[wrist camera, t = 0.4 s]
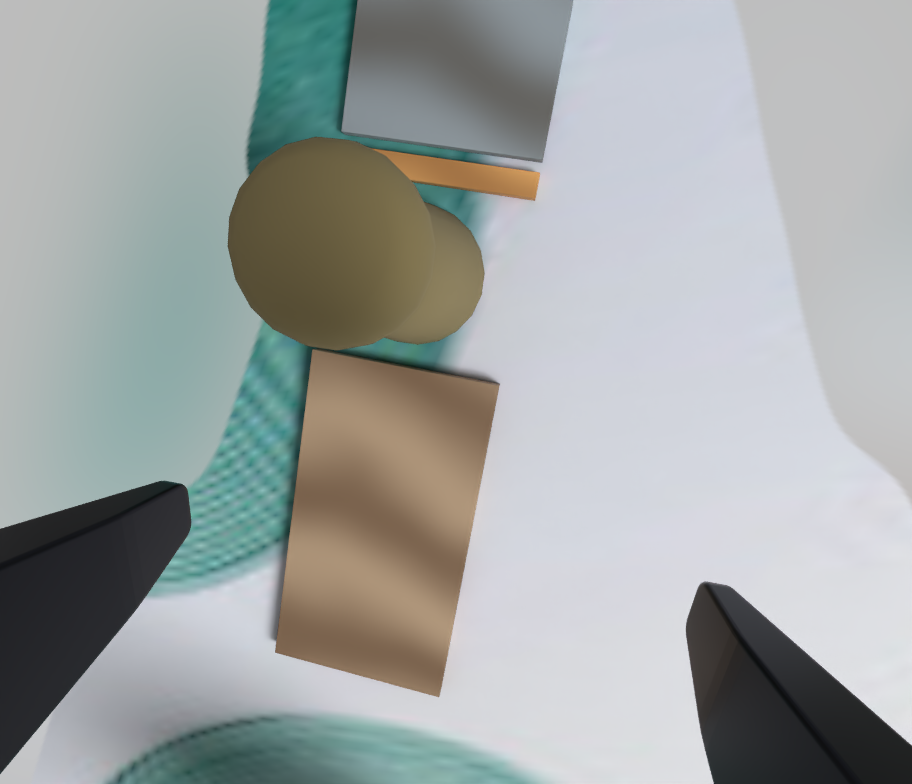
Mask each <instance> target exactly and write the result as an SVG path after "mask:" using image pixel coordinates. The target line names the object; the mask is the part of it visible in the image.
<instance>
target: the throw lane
mask: <svg viewBox="0 0 912 784" xmlns="http://www.w3.org/2000/svg"><path fill="white" fill-rule="evenodd" d="M572 5H573V0H358V1H357V10H356V18H355V26H354V34H353V42H352V50H351V58H350V66H349V74H348V82H347V90H346V98H345V106H344V114H343V122H342V132H343V133H344V134H345V135H351V136H358V137H365V138H372V139H379V140H386V141H393V142H400V143H408V144H415V145H422V146H429V147H436V148H443V149H450V150H457V151H464V152H471V153H478V154H485V155H492V156H499V157H506V158H513V159H521V160H528V161H535V162H542V161H543V156H544V151H545V146H546V141H547V135H548V130H549V125H550V120H551V115H552V109H553V104H554V99H555V94H556V89H557V83H558V78H559V73H560V68H561V63H562V57H563V52H564V47H565V42H566V37H567V31H568V26H569V21H570V16H571V11H572ZM370 149H372V148H370ZM373 150H375V151H377V152H379V153H381V154H383V155H385V156H387V157H388V158H389V159H390V160H391V161H392V162H393V163H394V164H395V165H396V166H397V167H398V168H399V169H400V170H401V171H402V172H403V173H404V174H405V175H406V176H407V177H408V178H409V179H410V180H411V181H412V182H415V183H421V184H428V185H434V186H441V187H448V188H454V189H461V190H468V191H474V192H481V193H488V194H494V195H501V196H507V197H514V198H521V199H527V200H534V201H535V198H536V193H537V187H538V182H539V177H540V173H538V172H531V171H525V170H518V169H511V168H504V167H497V166H490V165H483V164H476V163H469V162H462V161H455V160H448V159H441V158H434V157H427V156H420V155H413V154H406V153H400V152H393V151H386V150H379V149H373ZM499 385H500V384H497V383H492V382H487V381H482V380H477V379H472V378H467V377H461V376H456V375H451V374H446V373H441V372H436V371H431V370H426V369H420V368H415V367H410V366H405V365H400V364H395V363H390V362H385V361H379V360H374V359H369V358H364V357H359V356H354V355H349V354H344V353H338V352H333V351H328V350H323V349H313V350H312V358H311V366H310V374H309V382H308V390H307V398H306V406H305V415H304V423H303V431H302V439H301V447H300V455H299V463H298V471H297V479H296V488H295V496H294V504H293V512H292V520H291V528H290V536H289V544H288V552H287V561H286V569H285V577H284V585H283V593H282V601H281V609H280V617H279V625H278V634H277V642H276V650H275V653H279V654H283V655H286V656H290V657H294V658H297V659H301V660H305V661H308V662H312V663H316V664H319V665H323V666H327V667H330V668H334V669H338V670H341V671H345V672H349V673H352V674H356V675H360V676H363V677H367V678H371V679H374V680H378V681H382V682H385V683H389V684H393V685H396V686H400V687H404V688H407V689H411V690H415V691H418V692H422V693H426V694H429V695H433V696H437V697H439V695H440V691H441V687H442V681H443V676H444V671H445V666H446V661H447V655H448V650H449V645H450V640H451V635H452V629H453V624H454V619H455V614H456V609H457V603H458V598H459V593H460V588H461V583H462V577H463V572H464V567H465V562H466V557H467V551H468V546H469V541H470V536H471V531H472V525H473V520H474V515H475V510H476V505H477V499H478V494H479V489H480V484H481V479H482V473H483V468H484V463H485V458H486V453H487V447H488V442H489V437H490V432H491V427H492V421H493V416H494V411H495V406H496V401H497V395H498V390H499Z"/></svg>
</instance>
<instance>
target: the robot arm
mask: <svg viewBox="0 0 912 784" xmlns="http://www.w3.org/2000/svg"><path fill="white" fill-rule="evenodd" d="M190 528H191V514H190V505H189V497H188V490H187V488H186V487H185V486H184V485H183V484H180V483H174V482H169V481H159V482H155V483H152V484H149V485H146V486H142V487H139V488H135V489H132V490H129V491H126V492H122V493H119V494H115V495H112V496H109V497H105V498H102V499H99V500H95V501H92V502H89V503H85V504H82V505H78V506H75V507H72V508H68V509H65V510H62V511H58V512H55V513H52V514H48V515H45V516H42V517H38V518H35V519H32V520H28V521H25V522H22V523H18V524H15V525H11V526H9V527H5V528H1V529H0V774H1V772H2V771H3V770H4V769H5V768H6V767H7V765H8V764H9V763H10V762H11V760H12V759H13V758H14V757H15V756H16V755H17V753H18V752H19V751H20V750H21V748H22V747H23V746H24V745H25V744H26V742H27V741H28V740H29V739H30V738H31V736H32V735H33V734H34V733H35V732H36V730H37V729H38V728H39V727H40V726H41V724H42V723H43V722H44V721H45V719H46V718H47V717H48V716H49V715H50V714H51V712H52V711H53V710H54V709H55V707H56V706H57V705H58V704H59V703H60V701H61V700H62V699H63V698H64V697H65V695H66V694H67V693H68V692H69V691H70V689H71V688H72V687H73V686H74V685H75V683H76V682H77V681H78V680H79V679H80V677H81V676H82V675H83V674H84V673H85V671H86V670H87V669H88V668H89V666H90V665H91V664H92V663H93V662H94V660H95V659H96V658H97V657H98V656H99V654H100V653H101V652H102V651H103V650H104V648H105V647H106V646H107V645H108V644H109V642H110V641H111V640H112V639H113V638H114V636H115V635H116V634H117V633H118V631H119V630H120V629H121V628H122V627H123V625H124V624H125V623H126V622H127V621H128V619H129V618H130V617H131V616H132V614H133V613H134V612H135V611H136V609H137V608H138V607H139V605H140V604H141V602H142V601H143V600H144V598H145V597H146V596H147V594H148V593H149V591H150V590H151V588H152V587H153V585H154V584H155V582H156V581H157V579H158V578H159V577H160V575H161V574H162V572H163V571H164V569H165V568H166V566H167V565H168V563H169V562H170V561H171V559H172V558H173V556H174V555H175V553H176V552H177V550H178V549H179V547H180V546H181V544H182V543H183V542H184V540H185V539H186V537H187V535H188V533H189V531H190ZM686 638H687V644H688V651H689V658H690V664H691V671H692V678H693V684H694V691H695V698H696V704H697V711H698V717H699V723H700V729H701V734H702V739H703V743H704V747H705V751H706V755H707V759H708V763H709V767H710V771H711V774H712V778H713V782H714V784H912V745H910V744H909V743H908V742H907V741H906V740H905V739H904V738H902V737H901V736H900V735H899V734H898V733H897V732H896V731H895V730H893V729H892V728H891V727H890V726H889V725H888V724H887V723H885V722H884V721H883V720H882V719H881V718H880V717H879V716H877V715H876V714H875V713H874V712H873V711H872V710H871V709H869V708H868V707H867V706H866V705H865V704H864V703H863V702H861V701H860V700H859V699H858V698H857V697H856V696H855V695H853V694H852V693H851V692H850V691H849V690H848V689H847V688H846V687H844V686H843V685H842V684H841V683H840V682H839V681H838V680H836V679H835V678H834V677H833V676H832V675H831V674H830V673H828V672H827V671H826V670H825V669H824V668H823V667H822V666H820V665H819V664H818V663H817V662H816V661H815V660H814V659H812V658H811V657H810V656H809V655H808V654H807V653H806V652H805V651H803V650H802V649H801V648H800V647H799V646H798V645H797V644H795V643H794V642H793V641H792V640H791V639H790V638H789V637H787V636H786V635H785V634H784V633H783V632H782V631H781V630H779V629H778V628H777V627H776V626H775V625H774V624H773V623H771V622H770V621H769V620H768V619H767V618H766V617H765V616H763V615H762V614H761V613H760V612H759V611H758V610H757V609H756V608H754V607H753V606H752V605H751V604H750V603H749V602H748V601H746V600H745V599H744V598H743V597H742V596H741V595H740V594H738V593H737V592H736V591H735V590H734V589H733V588H731V587H730V586H727V585H723V584H717V583H712V582H703V583H701V584H700V585H699V587H698V589H697V592H696V595H695V598H694V601H693V604H692V607H691V609H690V612H689V615H688V618H687V623H686Z"/></svg>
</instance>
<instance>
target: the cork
mask: <svg viewBox="0 0 912 784" xmlns="http://www.w3.org/2000/svg"><path fill="white" fill-rule="evenodd" d="M228 249H229V254H230V258H231V262H232V267H233V271H234V275H235V279H236V281H237V283H238V285H239V287H240V289H241V290H242V292H243V294H244V296H245V298H246V300H247V301H248V303H249V305H250V307H251V308H252V309H253V310H254V311H255V312H256V313H257V314H258V315H259V316H260V317H261V318H262V319H263V320H264V321H265V322H266V323H267V324H268V325H269V326H270V327H271V328H272V329H274V330H276V331H278V332H280V333H282V334H284V335H286V336H288V337H290V338H292V339H294V340H296V341H298V342H300V343H302V344H304V345H306V346H311V347H318V348H324V349H331V350H342V349H348V348H353V347H359V346H365V345H369V344H373V343H375V342H377V341H378V340H380V339H382V338H388V339H391V340H394V341H397V342H404V343H411V344H417V345H418V344H424V343H430V342H435V341H439V340H441V339H443V338H445V337H447V336H448V335H450V334H452V333H454V332H456V331H457V330H458V329H459V328H460V327H461V326H462V325H463V324H464V323H465V322H466V321H467V320H468V319H469V318H470V317H471V316H472V314H473V312H474V310H475V308H476V305H477V303H478V301H479V299H480V297H481V294H482V287H483V280H484V267H483V261H482V255H481V250H480V248H479V246H478V244H477V242H476V241H475V239H474V237H473V235H472V233H471V231H470V230H469V229H468V228H467V227H466V226H465V225H464V224H463V223H462V222H461V221H460V220H459V219H458V218H457V217H456V216H455V215H453V214H451V213H449V212H447V211H445V210H443V209H441V208H439V207H437V206H434V205H431V204H429V203H426V202H423V200H422V198H421V196H420V194H419V192H418V190H417V188H416V186H415V185H414V184H413V183H412V181H411V180H410V179H409V178H408V177H407V176H406V175H405V174H404V173H403V172H402V171H401V170H400V169H399V168H398V167H397V166H396V165H395V164H394V163H393V162H392V161H391V160H390V159H389V158H388V157H387V156H385V155H383V154H381V153H379V152H377V151H375V150H373V149H370V148H368V147H366V146H364V145H362V144H360V143H358V142H355V141H350V140H343V139H333V138H323V137H313V138H309V139H305V140H301V141H298V142H294V143H290V144H286V145H284V146H283V147H282V148H280V149H279V150H277V151H276V152H274V153H273V154H271V155H270V156H268V157H267V158H265V159H264V160H262V161H261V162H260V163H259V164H258V165H257V166H256V168H255V169H254V170H253V172H252V173H251V174H250V176H249V177H248V178H247V179H246V181H245V182H244V183H243V185H242V186H241V187H240V189H239V191H238V194H237V197H236V200H235V203H234V205H233V208H232V211H231V214H230V217H229V233H228Z"/></svg>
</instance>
